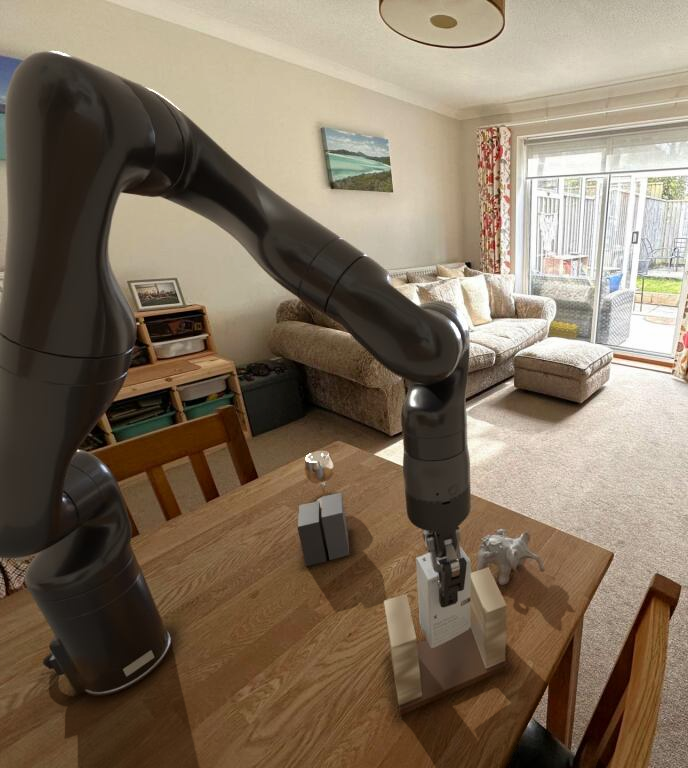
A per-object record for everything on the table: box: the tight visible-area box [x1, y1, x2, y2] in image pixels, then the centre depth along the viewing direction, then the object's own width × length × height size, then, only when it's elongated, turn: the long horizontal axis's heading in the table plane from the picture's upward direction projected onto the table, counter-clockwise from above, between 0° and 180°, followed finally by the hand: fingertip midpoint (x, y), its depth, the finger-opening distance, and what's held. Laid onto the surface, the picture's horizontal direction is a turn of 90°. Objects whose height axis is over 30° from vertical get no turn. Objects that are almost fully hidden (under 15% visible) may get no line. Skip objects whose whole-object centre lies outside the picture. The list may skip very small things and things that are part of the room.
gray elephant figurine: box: [476, 528, 545, 586], centre depth 73 cm, size 9×12×8 cm
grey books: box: [296, 492, 350, 567], centre depth 76 cm, size 8×6×10 cm
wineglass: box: [304, 450, 335, 509], centre depth 89 cm, size 6×6×12 cm
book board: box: [383, 567, 508, 716], centre depth 56 cm, size 15×8×12 cm, turn 114°
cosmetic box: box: [415, 545, 472, 648], centre depth 53 cm, size 6×4×12 cm
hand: (443, 586), depth 53 cm, fingers closed on cosmetic box, 4 cm apart
